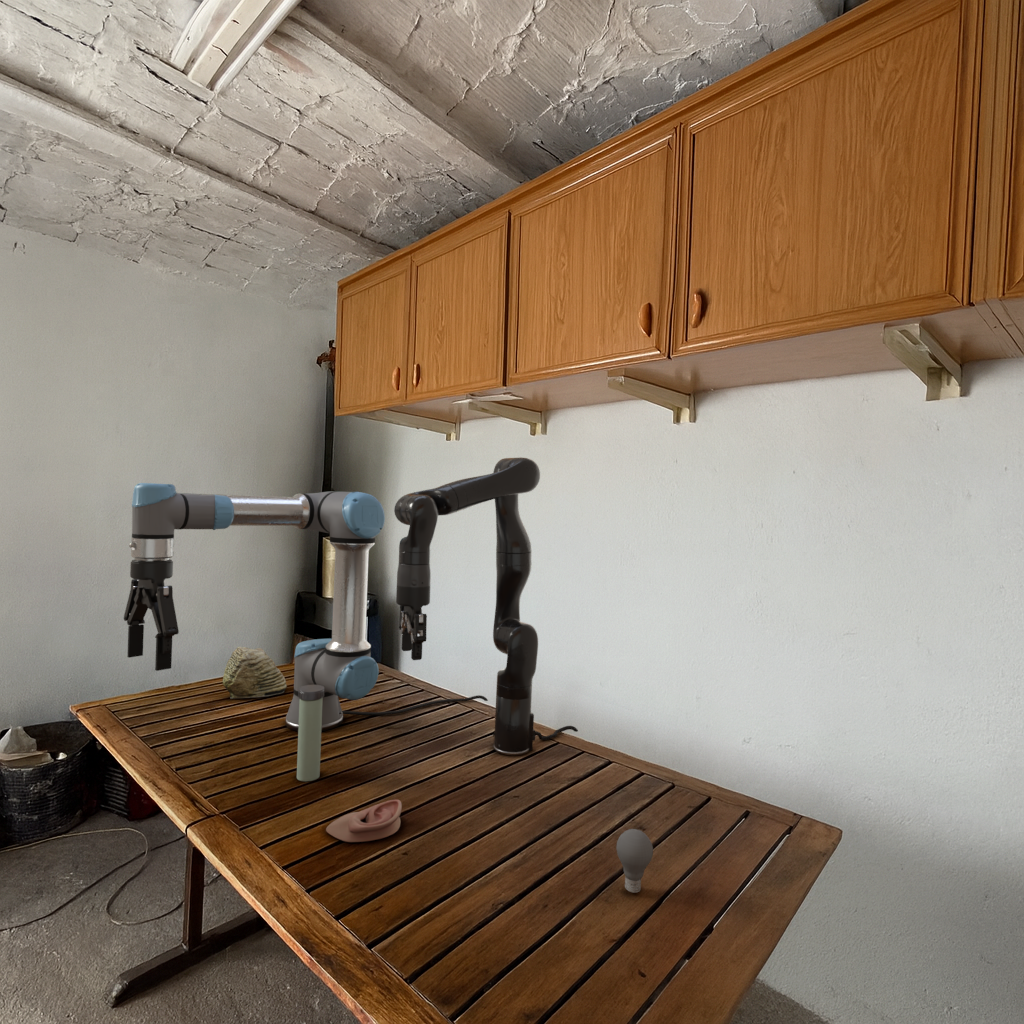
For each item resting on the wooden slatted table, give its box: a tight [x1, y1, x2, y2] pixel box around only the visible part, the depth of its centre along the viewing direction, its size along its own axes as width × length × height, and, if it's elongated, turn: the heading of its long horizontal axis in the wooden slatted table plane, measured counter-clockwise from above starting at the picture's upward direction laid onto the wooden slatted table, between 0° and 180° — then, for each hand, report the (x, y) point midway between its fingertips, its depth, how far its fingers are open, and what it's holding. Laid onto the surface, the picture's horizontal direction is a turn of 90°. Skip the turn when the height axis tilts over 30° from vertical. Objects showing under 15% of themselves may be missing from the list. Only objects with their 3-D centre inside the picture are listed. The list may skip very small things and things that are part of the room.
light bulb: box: [615, 828, 654, 894], centre depth 106 cm, size 6×6×10 cm
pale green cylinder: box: [296, 698, 323, 782], centre depth 143 cm, size 5×5×20 cm
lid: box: [298, 685, 325, 700], centre depth 143 cm, size 6×6×2 cm
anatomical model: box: [325, 799, 403, 843], centre depth 122 cm, size 13×4×12 cm
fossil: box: [222, 646, 288, 699], centre depth 198 cm, size 9×18×15 cm, turn 132°
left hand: (148, 662), depth 129 cm, fingers open, 13 cm apart
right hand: (411, 655), depth 143 cm, fingers open, 8 cm apart
